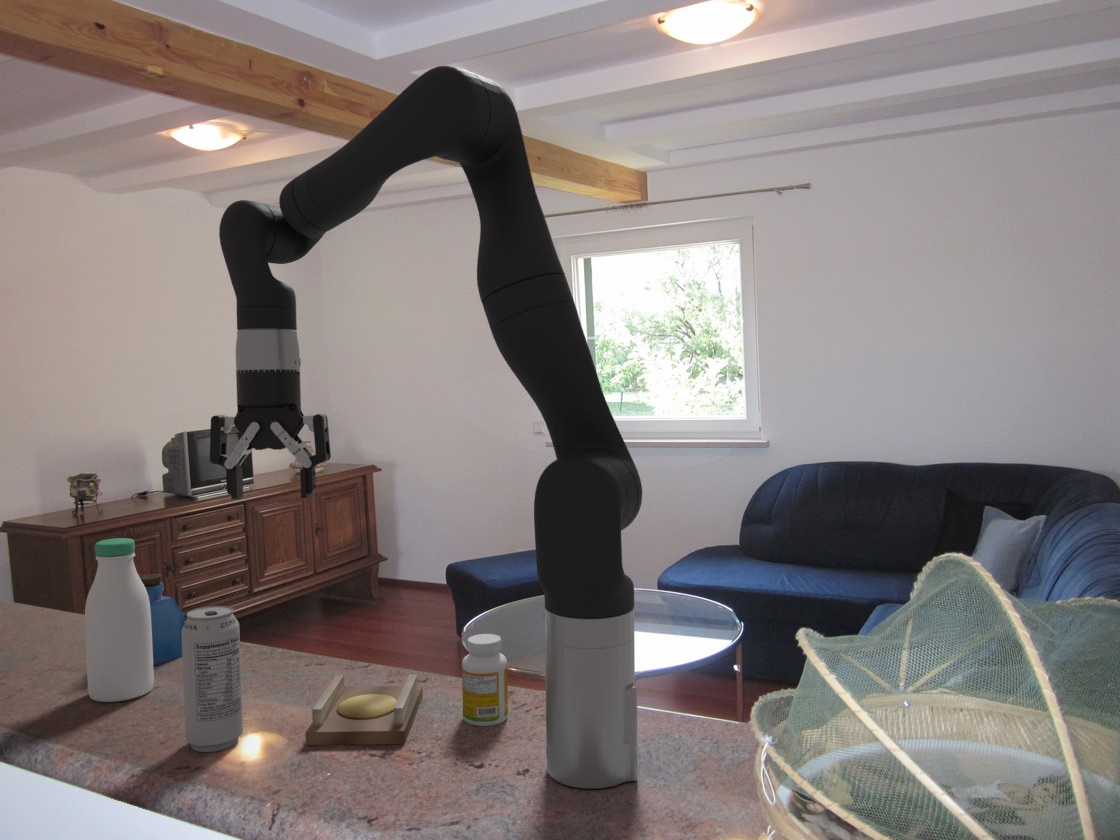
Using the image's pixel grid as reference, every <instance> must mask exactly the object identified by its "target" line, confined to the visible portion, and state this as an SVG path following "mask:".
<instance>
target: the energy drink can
mask: <svg viewBox="0 0 1120 840" xmlns="http://www.w3.org/2000/svg"><path fill="white" fill-rule="evenodd" d="M233 612H234V609H233V607H230V606H225V605H213V606H204V607H198V608H195V609H192V610H190V611H188V612H187V613H186V617H187V618H186V620H185V621H184V626H183V628H182V630H181V631H182V678H183V679H182V680H183V698H184V699H183V701H184V702H183V703H184V705H183V706H184V722H185V723H184V724H185V725H184V726H185V731H184V732H185V741H186V743H188V744H190V746H191V749H192V750H193V751H197V752H201V753H212V752H213V753H214V752H220V751H223V750H226V749H229V748H231V747H233V746H235V745H236V744H237V743H238V742H239V737H240V736H241V735H242V734H243V732H244V725H243V724H244V722H243V721H244V719H243V717H244V716H243V695H242V690H243V688H242V662H241V661H242V659H241V640H240V634H241V633H240V622H239V621H238V619H237V618H236V616H235V615H234V613H233Z"/></svg>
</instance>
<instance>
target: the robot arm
mask: <svg viewBox="0 0 1120 840" xmlns="http://www.w3.org/2000/svg"><path fill="white" fill-rule="evenodd" d="M519 120H520V119H519V116H518V113H517V109H516V106H515V104H514V102H513V100H512V98H511V96H510V95H509V93H508V92H507V91H506V90H505V89H504V87H502V86H501V85H500V84H498V83H497V82H496V81H494V80H492V79H490V78H487V77H484V76H483V75H479V74H478V73H475V72H472V71H470V70H467V69H464V68H461V67H458V66H454V65H438V66H435V67H433V68H431V69H428V70H427V71H425V72H424V73H422V74H421V75H420V76H418V77H417V78H416V79H415V80H414V81H412V83H410V84H409V85H408V86H407V87H406V88H405V89H404V90H402V91H401V93H399V94H398V95H397V96H396V98H394V99H393V100H392V101H391V102H390V103H389V104H388V105H387V106H386V107H385V108H384V109H383V110H382V111H381V112H380V113H378V114H377V115H376V116H375V117H374V118H373V119H372V120H371V121H370V122H369V123H367V125H366V126H365V127H363V128H362V129H361V131H360V132H358V133H357V134H356V135H355V136H353V138H351V139H350V140H349V141H348V142H347V143H346V144H344V145H343V146H342V147H340V148H339V149H338V150H337V151H335V152H333V153H332V154H331V155H329V156H328V157H326V158H325V159H323V160H322V161H320V162H318V163H317V164H314V166H311V167H310V168H308V169H307V170H305V171H304V172H302V173H301V174H299V175H298V176H296V177H294V178H293V179H291V180H290V181H289V182H288V183H287V184H285V185H284V186H283V188H282V190H281V191H280V195H279V199H278V201H279V202H278V203H279V206H278V205H275V204H268V203H263V202H258V201H253V200H245V199H243V200H241V199H240V200H236V201H234V202H232V203H231V204H230V205H229V206H227V208H225V211H224V212H223V214H222V216H221V219H220V223H219V229H218V230H219V233H218V235H219V237H218V238H219V242H220V248H221V251H222V256H223V259H224V262H225V266H226V268H227V271H228V275H229V279H230V282H231V286H232V288H233V292H234V295H235V298H236V299H235V300H236V306H235V307H236V330H237V331H236V340H235V341H236V342H235V375H236V376H235V378H236V406H237V412H236V414H235V416H227V415H225V414H217V415H213V416H211V418H210V431H209V432H210V434H209V435H210V436H209V437H210V439H209V462H210V463H212V464H213V465H219V466H221V467H223V468H224V469H225V475H226V476H225V477H226V479H225V481H226V493H227V494H228V496H229V495H230V496H231V499H232V500H240V499H242V498H243V497H244V483H243V481H244V479H243V478H244V477H243V475H244V474H243V468H242V467H241V465H242V464H243V462H244V460H245V459H246V458H247V457H248V455H249V454H250V453H251V452H252V451H253V450H255V451H264V450H266V449H267V450H268V449H271V450H276V451H277V450H284V449H287V450H288V451H289V453H290V454H291V455H292V456H294V457H295V459H297V461H298V462H299V463H300V465H301V466H302V468H300V469H299V472H300V473H299V474H300V476H299V478H300V480H299V481H300V498H301V499H306V500H307V499H309V498H311V496H312V494H314V493H315V491H316V489H317V483H316V482H317V481H316V468H317V466H318V465H320V464H323V463H325V462H327V461H330V459H331V457H332V455H331V443H330V442H331V441H330V431H329V420H328V419H329V418H328V415H327V414H325V413H316V414H314V415H304V413H303V411H302V400H301V399H302V395H301V390H302V389H301V365H302V364H301V363H302V361H301V357H300V356H301V355H300V353H301V351H300V345H299V339H298V331H297V330H298V329H297V328H298V327H297V299H296V293H295V292H296V291H295V290H294V288H293V287H292V286H291V285H290V284H288V283H286V282H283V281H280V280H279V279H277V278H276V277H275V276H274V275H273V273H272V270H271V268H270V265H269V264H275V265H287V264H290V263H293V262H296V261H299V260H300V259H302V258H304V257H305V256H306V255H308V254H309V252H310V251H311V250H312V249H313V248H314V247H315V246H316V245H317V243H319V242H320V240H321V239H322V238H323V236H325V234H326V233H327V232H329V231H331V230H333V229H334V228H336V227H339V226H340V225H342V224H343V223H345V222H347V221H348V220H350V219H352V218H355V216H357V215H358V214H359V213H361V212H362V211H364V210H365V209H366V208H368V207H369V206H370V205H371V203H372V202H373V201H374V200H375V198H376V196H377V195H378V194H379V193H380V190H381V189H382V188H383V185H384V184H385V183H386V181H388V180H389V178H390V177H391V176H393V175H394V174H396V173H397V172H400V171H401V170H403V169H404V168H406V167H408V166H411V165H413V164H416V163H419V162H422V161H425V160H428V159H431V158H435V157H436V158H440V159H443V160H447V161H451V162H455V163H458V164H459V165H460V167H461V168H462V170H463V172H464V174H465V176H466V179H467V181H468V183H469V187H470V190H471V192H472V195H473V199H474V201H475V203H476V204H475V205H476V207H477V212H478V216H479V224H480V226H479V227H480V230H479V232H480V233H479V244H478V251H477V263H476V281H477V282H476V283H477V288H478V295H479V298H480V302H481V304H482V308H483V310H484V313H485V317H486V319H487V322H488V326H489V330H490V331H491V335H492V337H493V340H494V342H495V344H496V346H497V349H498V351H499V352H500V355H501V356H502V358H503V359H504V361H505V362H506V364H507V365H508V367H509V368H510V370H511V371H512V373H513V374H514V376H515V377H516V378H517V380H518V381H519V382H520V384H521V385H522V387H523V388H524V389H525V391H526V393H527V394H528V395H529V396H530V398H531V399H532V401H533V403H535V405H536V407H537V409H538V411H539V412H540V415H541V416H542V419H543V421H544V423H545V425H546V428H547V430H548V433H549V436H550V439H551V443H552V446H553V450H554V454H555V457H556V459H555V460H554V461H551V463H549V464H548V465H547V466H546V467H545V469H543V471H542V473H541V474H540V476H539V478H538V481H537V484H536V486H535V492H534V501H533V502H534V503H533V522H534V523H533V525H534V543H535V559H536V560H535V562H536V572H537V577H538V581H539V584H540V586H541V589H542V590H543V595H544V631H545V632H544V636H545V637H544V643H545V645H544V647H545V648H544V652H545V653H544V654H545V655H544V656H545V665H544V666H545V667H544V668H545V735H546V737H545V739H546V743H545V745H546V746H545V755H546V772H547V774H548V775H549V776H550V777H551V779H553V780H554V781H556V782H557V783H559V784H562V785H565V786H568V787H571V788H572V787H574V788H576V789H577V788H578V789H590V790H591V789H605V788H610V787H614V786H618V785H620V784H623V783H626V782H637V781H638V777H639V776H638V689H637V684H636V679H635V677H636V676H635V673H636V672H635V669H636V668H635V665H636V664H635V662H636V661H635V659H636V658H635V657H636V656H635V585H634V582H633V580H632V578H631V577H629V575H627V574H625V572H624V567H623V552H622V548H623V547H622V531H624V530H625V529H627V528H628V527H629V526H630V525H631V524H632V523H633V522H634V521H635V519H636V517H637V516H638V514H639V512H640V509H641V506H642V501H643V485H642V481H641V477H640V474H639V471H638V469H637V466H636V464H635V462H634V459H633V458H632V455H631V453H630V451H629V449H628V447H627V444H626V442H625V441H624V438H623V436H622V434H621V431H620V430H619V427H618V425H617V423H616V420H615V418H614V416H613V414H612V411H611V409H610V408H609V405H608V402H607V399H606V397H605V395H604V392H603V389H602V386H601V382H600V380H599V376H598V375H599V374H598V373H597V369H596V366H595V363H594V360H593V357H592V356H593V355H592V353H591V351H590V348H589V344H588V342H587V338H586V336H585V333H584V332H585V331H584V329H583V327H582V323H581V320H580V317H579V313H578V310H577V306H576V303H575V300H574V297H573V293H572V292H571V289H570V288H571V287H570V286H569V283H568V280H567V276H566V274H565V272H564V269H563V267H562V264H561V262H560V259H559V256H558V253H557V250H556V248H555V243H554V241H553V238H552V235H551V232H550V229H549V226H548V223H547V219H546V217H545V214H544V211H543V209H542V206H541V203H540V200H539V198H538V195H537V192H536V186H535V184H534V180H533V176H532V172H531V167H530V163H529V159H528V154H527V149H526V145H525V140H524V136H523V132H522V128H521V124H520V121H519ZM305 425H306V426H308V427H307V428H308V430H309V431H310V432H311V433H313V438H314V449H315V450H314V451H315V454H312V452H311V451H310V450H309V448H308V446H307V444H306V443H305V441H303V439H302V438H301V437H300V436H299V434H300V432H301V431H302V429H303V428H304V426H305ZM233 427H235V428H236V430H237V431H238V432H239V434H240V435H241V437H240V439H239V440H238V442H236V444H235V446H234V447H233V450H232V452H231V453H230V455H228V452H227V451H228V434H229V433H231V432H232V429H233Z"/></svg>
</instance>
